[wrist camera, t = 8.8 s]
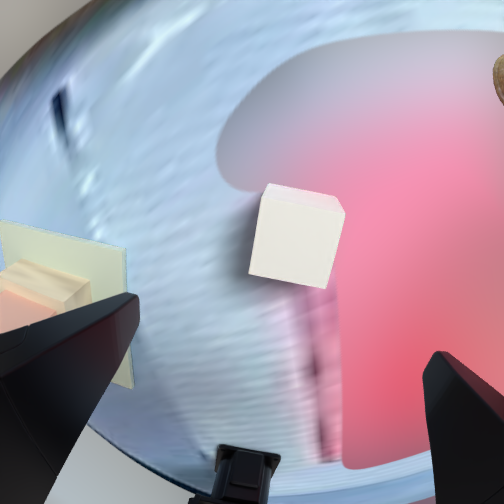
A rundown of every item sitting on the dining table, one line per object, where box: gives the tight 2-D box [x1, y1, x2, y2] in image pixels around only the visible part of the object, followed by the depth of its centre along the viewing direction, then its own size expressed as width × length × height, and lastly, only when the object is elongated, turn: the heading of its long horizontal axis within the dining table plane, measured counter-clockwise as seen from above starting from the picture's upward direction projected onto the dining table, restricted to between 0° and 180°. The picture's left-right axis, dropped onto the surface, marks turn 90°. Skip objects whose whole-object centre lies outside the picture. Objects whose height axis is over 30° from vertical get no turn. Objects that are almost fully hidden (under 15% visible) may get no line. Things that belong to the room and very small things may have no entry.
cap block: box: [249, 183, 346, 289], centre depth 17 cm, size 4×4×4 cm
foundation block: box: [0, 259, 92, 315], centre depth 22 cm, size 8×8×4 cm
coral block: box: [0, 289, 57, 334], centre depth 18 cm, size 6×6×5 cm
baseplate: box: [0, 219, 135, 389], centre depth 24 cm, size 14×14×1 cm
